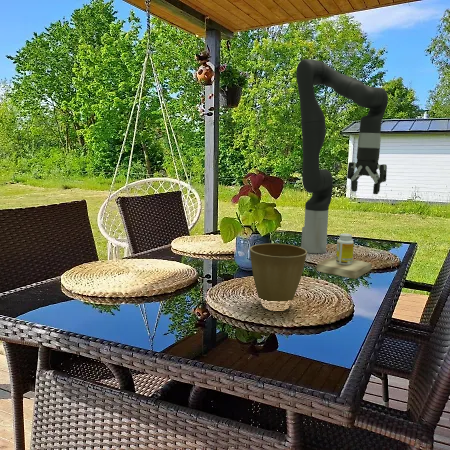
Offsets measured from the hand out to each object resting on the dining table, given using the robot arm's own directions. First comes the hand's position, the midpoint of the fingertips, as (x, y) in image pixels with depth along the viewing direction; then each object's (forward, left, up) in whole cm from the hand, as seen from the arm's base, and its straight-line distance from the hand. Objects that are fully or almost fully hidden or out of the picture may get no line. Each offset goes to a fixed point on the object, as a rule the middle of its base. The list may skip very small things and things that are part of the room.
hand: (364, 192), depth 164 cm
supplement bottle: (+1, -11, -24) cm, 27 cm away
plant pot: (+10, -57, -27) cm, 63 cm away
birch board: (+1, -11, -26) cm, 29 cm away
